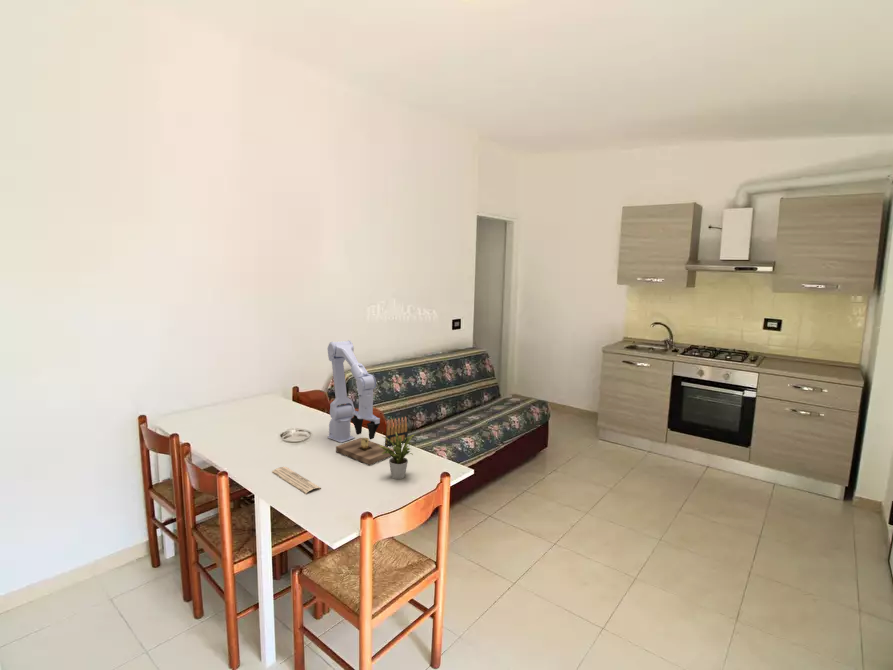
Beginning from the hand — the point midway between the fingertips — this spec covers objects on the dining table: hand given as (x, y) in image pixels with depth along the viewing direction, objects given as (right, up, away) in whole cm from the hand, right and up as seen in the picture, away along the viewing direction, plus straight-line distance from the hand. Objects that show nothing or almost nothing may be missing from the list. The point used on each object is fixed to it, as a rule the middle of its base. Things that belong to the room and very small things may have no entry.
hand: (365, 436), depth 203 cm
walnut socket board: (0, -8, +1) cm, 8 cm away
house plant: (+16, -11, -17) cm, 26 cm away
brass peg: (0, -7, +1) cm, 7 cm away
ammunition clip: (+12, -6, +13) cm, 19 cm away
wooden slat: (-21, -12, -25) cm, 34 cm away
